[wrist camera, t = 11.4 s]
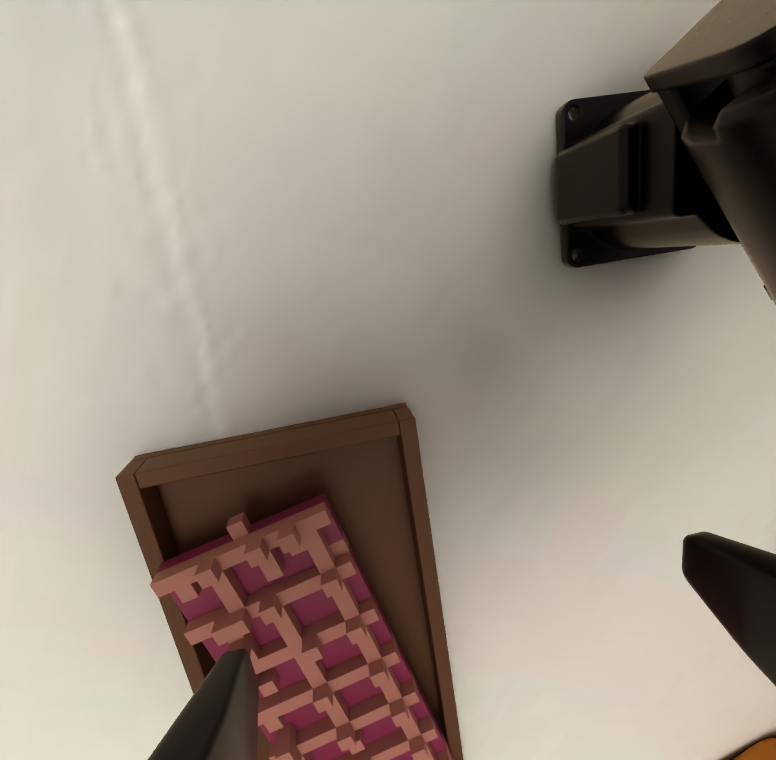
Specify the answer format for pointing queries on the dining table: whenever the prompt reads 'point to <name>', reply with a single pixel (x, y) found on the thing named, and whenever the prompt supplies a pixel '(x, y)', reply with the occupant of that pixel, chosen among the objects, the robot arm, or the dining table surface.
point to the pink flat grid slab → (305, 637)
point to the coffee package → (760, 751)
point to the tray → (294, 486)
